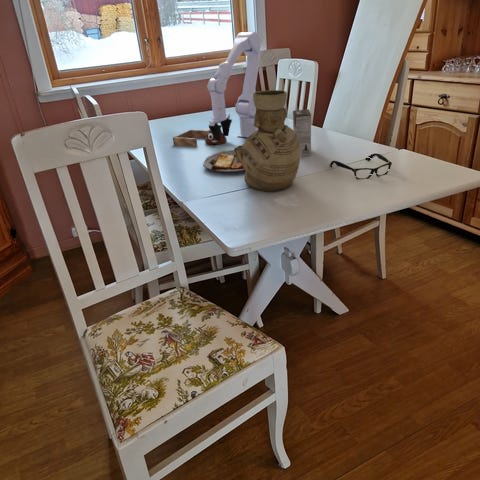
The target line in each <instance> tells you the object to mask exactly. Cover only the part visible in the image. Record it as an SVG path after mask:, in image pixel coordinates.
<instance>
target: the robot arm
mask: <svg viewBox="0 0 480 480" xmlns="http://www.w3.org/2000/svg"><path fill="white" fill-rule="evenodd" d="M261 45H262V38H261V37H260V35H259V33H258V32H257V31H252V32H251V31H250V32H239V33H238V34H237V35H236V37H235V39H234V44H233V46H232V48H231V50H230V52H229V54H228V57H227V58H226V59H225V62H221V63H220V64H219V65H218V69H217V70H216V71H215V74H213V77H212V78H210V79H209V81H208V82H207V85H206V88H207V90H208V92H209V96H210V98H211V100H210V101H211V109H212V116H213V117H211V120H210V121H209V124H208V128H209V129H210V130H211V131H212V133H213V135H214V138H215V141H220V130H221V131H222V133H223V134H224V136H225V137H229V134H230V128H231V124H232V122H233V119H232V118H231V115H230V113H227V112H226V111H227V110H226V100H225V91H226V89H227V83H228V81H229V78H230V77H231V75H232V73H233V71H234V69H233V67H234V65H235V63H236V61H238V59H239V57H240V56H241V54H242V53H244V54H245V55H246V57H247V60H246V61H247V62H246V66H245V67H246V68H245V73H244V80H243V87H242V93H241V95H239V96H238V98H237V102H236V103H235V107H234V109H235V113H236V114H237V115H238V117H239V128H240V130H239V131H240V134H238V135H237V138H238V137H239V138H248V137H249V136H250V135H251V134H253V132H254V131H258V127H255V126H254V125H253V124H254V116H255V114H256V108H255V105H254V101H253V93H254V92H256V86H257V78H258V74H259V73H258V72H259V67H260V62H261V61H260V60H261V55H262V54H261ZM219 123H220V125H219Z"/></svg>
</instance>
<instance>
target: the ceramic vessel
mask: <svg viewBox="0 0 480 480" xmlns="http://www.w3.org/2000/svg"><path fill="white" fill-rule="evenodd" d="M287 97H288V93H287V91H285V90H275V89H272V90H271V89H269V90H267V89H266V90H260V91H255V92H254V93H253V101H254V105H255V108H256V114H255V116H254V124H253V125H254V126H255V127H258V131H254V132H253V134H251V135H250V136H249V137H246V139H244V142H243V143H242V144H241V145H237V146H236V147H234V148H233V150H234V152H235V153H236V162H237V163H241V161H242V164H243V168H244V169H245V170H244V171H245V174H244V178H243V180H244V183H245V184H246V186H248V187H249V188H252V189H255V190H258V191H260V192H261V191H262V192H266V193H267V192H268V193H273V192H279V191H283V190H285V189H288V188H289V187H291V185H292V184H293V183H294V181H295V178H296V177H297V174H298V170H299V168H300V167H299V166H300V162H301V156H300V146H299V141H298V137H297V135H296V133H295V132H294V130H293V128H291V127H290V126H288V125H287V124H285V121H286V119H287V114H288V113H287V110H286V108H285V107H286V103H287Z"/></svg>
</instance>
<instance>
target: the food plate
mask: <svg viewBox="0 0 480 480" xmlns="http://www.w3.org/2000/svg"><path fill="white" fill-rule="evenodd" d="M202 166H203V168H205V169H207V170H209V171H213V172H224V173H226V172H227V173H237V172H242V171H245V169H244V168H243V164H242V161H241V163H237V162H236V153H235V152H234V149H231V150H223V151H220V152H215V153H213V154H211V155H209V156H207V157H206V158H205V160H204V162H203V163H202Z"/></svg>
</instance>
